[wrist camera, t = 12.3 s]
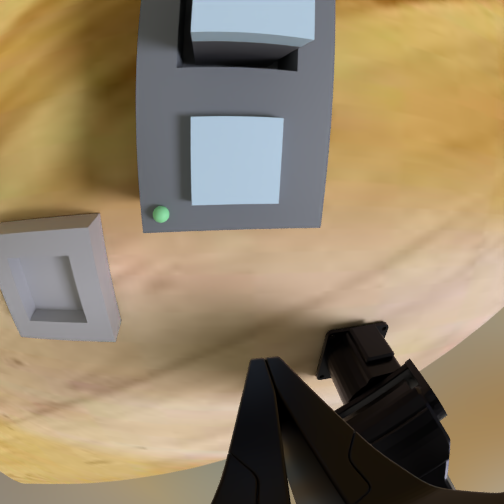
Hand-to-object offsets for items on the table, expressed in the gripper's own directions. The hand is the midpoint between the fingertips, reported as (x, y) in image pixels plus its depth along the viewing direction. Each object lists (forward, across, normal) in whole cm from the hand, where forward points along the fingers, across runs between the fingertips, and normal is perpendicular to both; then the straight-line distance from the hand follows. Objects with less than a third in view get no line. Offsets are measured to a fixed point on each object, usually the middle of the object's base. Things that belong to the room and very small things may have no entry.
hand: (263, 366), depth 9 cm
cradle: (+13, +13, +4) cm, 19 cm away
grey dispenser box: (+13, 0, -8) cm, 15 cm away
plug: (+12, 0, -12) cm, 17 cm away
